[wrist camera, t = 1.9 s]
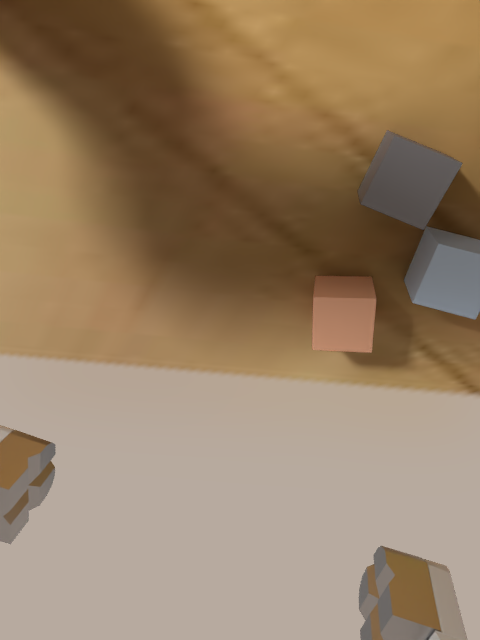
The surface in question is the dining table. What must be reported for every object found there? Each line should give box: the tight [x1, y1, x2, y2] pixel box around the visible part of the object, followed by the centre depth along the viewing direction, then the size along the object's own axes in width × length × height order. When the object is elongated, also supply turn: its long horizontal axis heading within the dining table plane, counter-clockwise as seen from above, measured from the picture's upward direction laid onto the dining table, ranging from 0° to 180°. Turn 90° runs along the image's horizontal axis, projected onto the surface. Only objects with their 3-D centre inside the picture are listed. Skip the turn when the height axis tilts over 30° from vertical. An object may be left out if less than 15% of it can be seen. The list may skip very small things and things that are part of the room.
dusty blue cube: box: [404, 226, 480, 319], centre depth 36 cm, size 5×5×5 cm
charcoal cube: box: [358, 130, 463, 230], centre depth 34 cm, size 5×5×5 cm
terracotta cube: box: [312, 276, 376, 353], centre depth 40 cm, size 5×5×5 cm
